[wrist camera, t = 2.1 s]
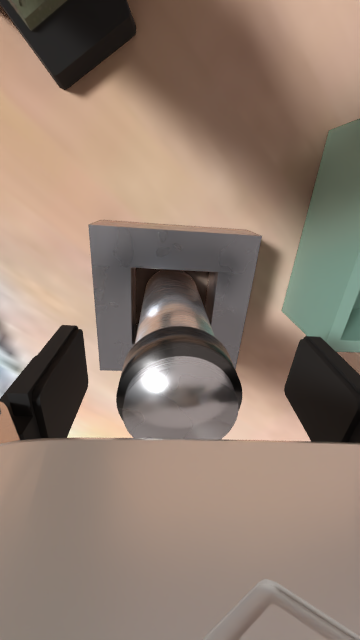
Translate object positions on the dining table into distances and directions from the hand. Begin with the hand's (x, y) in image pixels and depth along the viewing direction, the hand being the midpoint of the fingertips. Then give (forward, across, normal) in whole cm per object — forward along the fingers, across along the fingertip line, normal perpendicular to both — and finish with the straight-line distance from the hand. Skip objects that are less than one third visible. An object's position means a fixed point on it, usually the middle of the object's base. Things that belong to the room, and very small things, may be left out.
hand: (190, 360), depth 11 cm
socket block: (+9, +1, +1) cm, 9 cm away
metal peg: (+9, +1, +1) cm, 9 cm away
